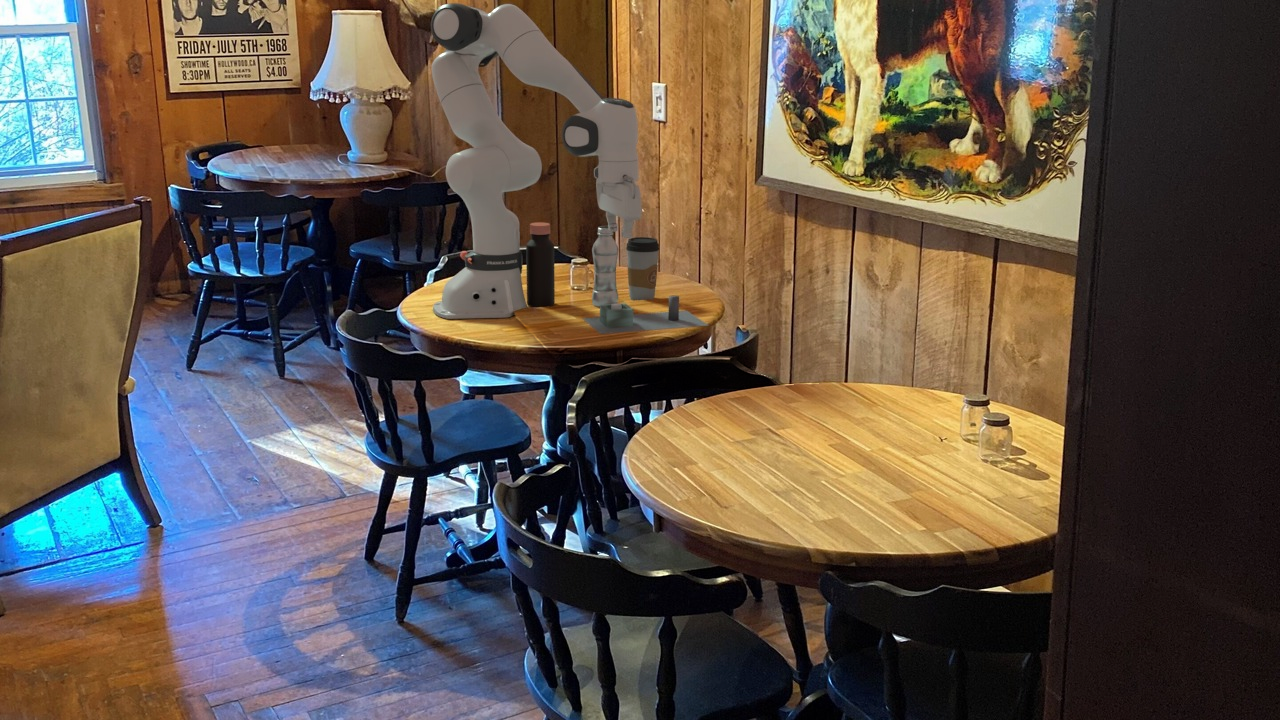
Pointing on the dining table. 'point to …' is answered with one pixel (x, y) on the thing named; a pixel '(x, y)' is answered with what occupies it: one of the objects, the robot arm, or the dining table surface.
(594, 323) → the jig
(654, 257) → the coffee cup
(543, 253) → the vinegar
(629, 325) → the collar
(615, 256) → the plastic bottle
